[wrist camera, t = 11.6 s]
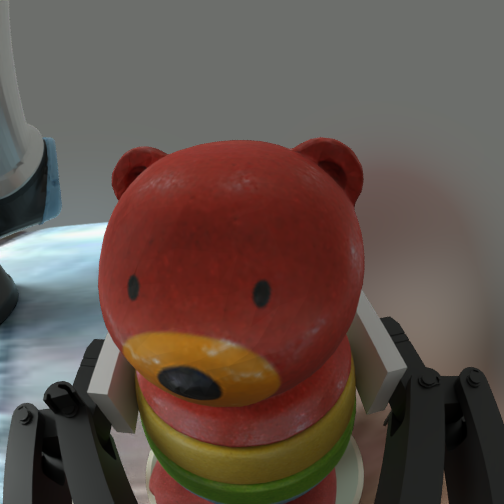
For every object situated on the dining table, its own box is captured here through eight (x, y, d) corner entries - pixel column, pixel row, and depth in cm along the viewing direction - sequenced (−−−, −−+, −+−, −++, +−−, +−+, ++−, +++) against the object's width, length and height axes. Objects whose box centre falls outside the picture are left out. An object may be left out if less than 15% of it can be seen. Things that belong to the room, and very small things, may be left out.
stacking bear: (142, 503, 12) (-76, 227, 3) (196, 388, 20) (145, 128, 12) (325, 544, 10) (624, 297, 1) (343, 411, 18) (408, 132, 9)
